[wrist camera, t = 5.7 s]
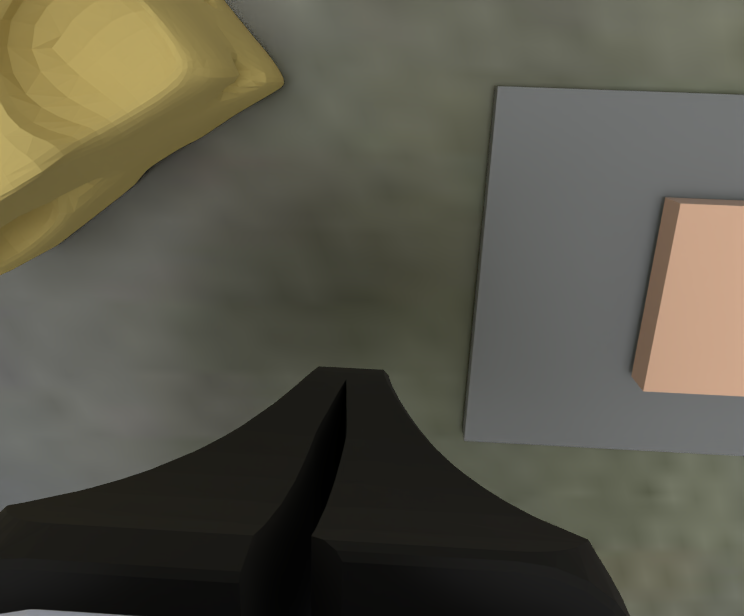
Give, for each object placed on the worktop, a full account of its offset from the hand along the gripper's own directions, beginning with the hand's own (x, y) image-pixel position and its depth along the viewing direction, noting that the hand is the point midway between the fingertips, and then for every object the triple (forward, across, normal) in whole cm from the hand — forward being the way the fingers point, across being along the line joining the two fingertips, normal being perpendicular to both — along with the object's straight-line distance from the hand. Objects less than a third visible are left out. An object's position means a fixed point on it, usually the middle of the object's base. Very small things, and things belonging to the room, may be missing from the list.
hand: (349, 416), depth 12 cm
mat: (+10, -10, 0) cm, 14 cm away
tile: (+8, -9, 0) cm, 12 cm away
